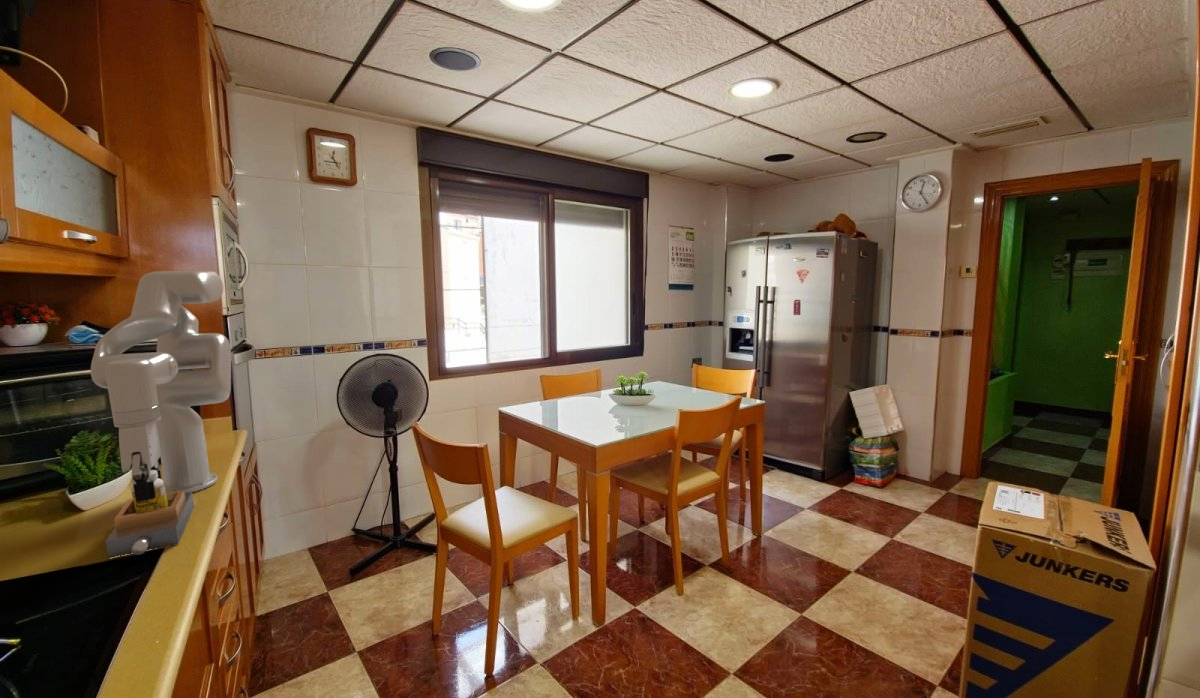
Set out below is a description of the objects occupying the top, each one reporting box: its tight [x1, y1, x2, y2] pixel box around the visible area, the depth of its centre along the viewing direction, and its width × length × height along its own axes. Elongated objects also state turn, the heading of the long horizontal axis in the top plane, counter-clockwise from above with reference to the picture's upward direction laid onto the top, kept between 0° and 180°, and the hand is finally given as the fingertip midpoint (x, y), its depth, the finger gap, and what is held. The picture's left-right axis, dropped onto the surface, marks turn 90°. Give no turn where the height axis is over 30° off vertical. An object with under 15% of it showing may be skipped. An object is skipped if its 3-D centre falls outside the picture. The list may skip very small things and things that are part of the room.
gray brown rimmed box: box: [105, 490, 195, 558], centre depth 111 cm, size 23×11×6 cm, turn 31°
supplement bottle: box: [131, 470, 168, 513], centre depth 111 cm, size 5×5×10 cm
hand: (149, 493), depth 111 cm, fingers open, 5 cm apart
